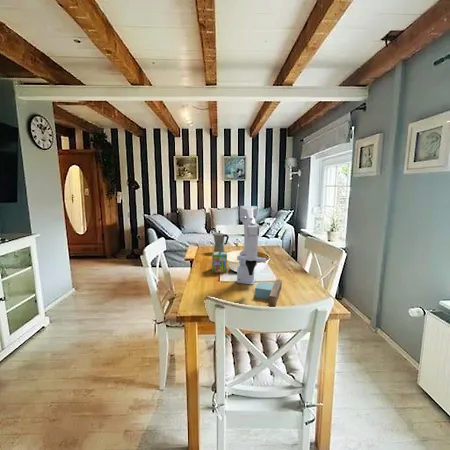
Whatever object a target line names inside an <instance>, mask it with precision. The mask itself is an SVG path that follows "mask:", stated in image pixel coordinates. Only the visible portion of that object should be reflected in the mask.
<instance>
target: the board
mask: <svg viewBox="0 0 450 450" xmlns="http://www.w3.org/2000/svg"><path fill="white" fill-rule="evenodd" d="M282 283H283V280H282V279H275V281H274V286H273V288H272V291H271V293H270V295H269V299H268V306H274V307H276V305H277V302H278V299H279V297H280V293H281V290H282Z"/></svg>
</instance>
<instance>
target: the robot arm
mask: <svg viewBox="0 0 450 450" xmlns="http://www.w3.org/2000/svg"><path fill="white" fill-rule="evenodd" d="M257 216H258V206H256V205H240V206H239V220H240V222H241V223H243V238H244V239H243V243H244V246H243V250H242V251H240V253H239V255H237V256H236V258H237V259H236V260H237V261H239V265H238V267H237V270H236V272H237V273H236V283H238V284H246V285H254V284H255V282H256V279H255V268H256V267H257V265H258V263H263V264H266V262H267V258H266V257H260V256H258V241H259V236H260V226H259V225H258V223H257Z"/></svg>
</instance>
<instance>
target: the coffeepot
mask: <svg viewBox="0 0 450 450" xmlns="http://www.w3.org/2000/svg"><path fill="white" fill-rule="evenodd" d="M212 236H213V240H214V247H213V252H220V251H221V252H226V251H225V247H224V245H227V244H228V241H229V235H228V234H227V233H221V230H218V232H216V233H215V232H214V233H212ZM225 237H226V239H225ZM220 249H222V250H220Z"/></svg>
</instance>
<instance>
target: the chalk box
mask: <svg viewBox="0 0 450 450" xmlns="http://www.w3.org/2000/svg"><path fill="white" fill-rule="evenodd" d="M220 250H222V249H220ZM211 255H212V256H211V271H212V273H214V274H215V273H221V274H223V273H225V274H226V273H227V272H228V271H227V270H228V269H227V268H228V267H227V263H228V253H227V251H225V252H221V251H220V252H214V251H212V254H211Z"/></svg>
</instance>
